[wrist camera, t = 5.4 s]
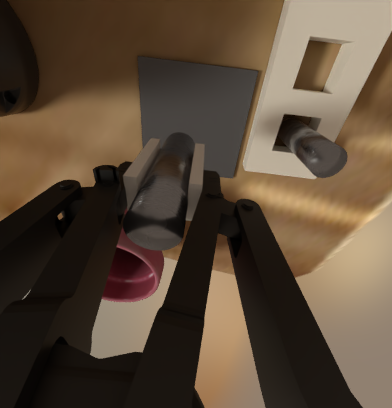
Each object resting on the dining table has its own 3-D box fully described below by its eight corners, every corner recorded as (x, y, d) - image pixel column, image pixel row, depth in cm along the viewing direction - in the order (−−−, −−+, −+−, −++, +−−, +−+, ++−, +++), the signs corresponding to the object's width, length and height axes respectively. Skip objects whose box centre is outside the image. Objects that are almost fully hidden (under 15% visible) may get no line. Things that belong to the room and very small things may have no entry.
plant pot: (160, 252, 43) (144, 313, 32) (95, 230, 40) (54, 288, 30) (185, 204, 35) (173, 263, 24) (106, 172, 32) (55, 224, 22)
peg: (164, 161, 19) (126, 247, 10) (164, 130, 18) (118, 202, 9) (194, 164, 19) (182, 253, 11) (197, 134, 18) (185, 209, 9)
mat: (144, 166, 31) (144, 167, 31) (138, 56, 23) (137, 55, 23) (232, 177, 31) (232, 178, 31) (257, 70, 23) (258, 71, 23)
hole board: (242, 163, 30) (244, 170, 28) (286, -8, 19) (295, -17, 17) (308, 171, 30) (315, 179, 28) (387, 5, 19) (408, -3, 17)
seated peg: (274, 139, 27) (304, 175, 18) (282, 116, 26) (319, 144, 17) (295, 142, 27) (336, 179, 18) (304, 119, 26) (354, 148, 17)
